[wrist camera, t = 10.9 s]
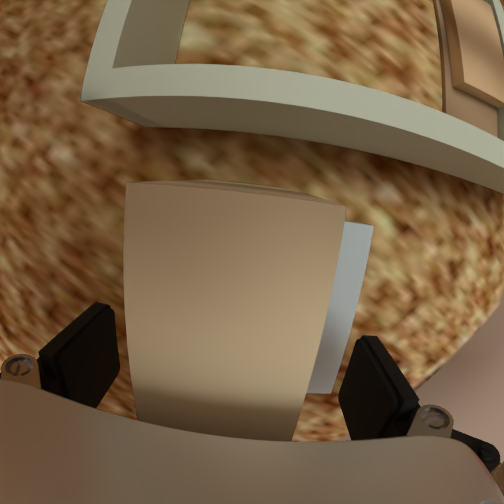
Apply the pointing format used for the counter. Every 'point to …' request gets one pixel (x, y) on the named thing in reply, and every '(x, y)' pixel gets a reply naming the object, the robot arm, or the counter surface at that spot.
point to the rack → (273, 98)
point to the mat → (341, 305)
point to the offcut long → (456, 99)
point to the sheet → (226, 302)
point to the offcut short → (475, 49)
